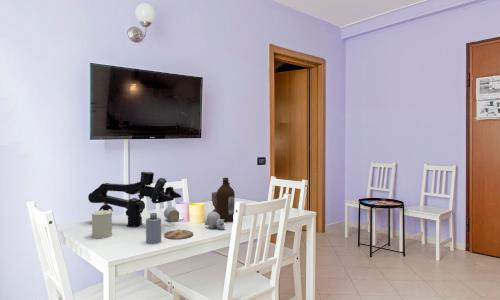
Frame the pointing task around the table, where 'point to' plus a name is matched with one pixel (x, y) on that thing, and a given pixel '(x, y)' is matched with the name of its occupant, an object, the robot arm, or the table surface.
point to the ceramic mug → (171, 214)
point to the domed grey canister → (153, 229)
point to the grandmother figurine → (106, 207)
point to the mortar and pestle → (215, 200)
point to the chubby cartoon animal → (214, 221)
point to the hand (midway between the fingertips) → (177, 197)
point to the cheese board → (178, 234)
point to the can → (101, 224)
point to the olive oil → (225, 201)
